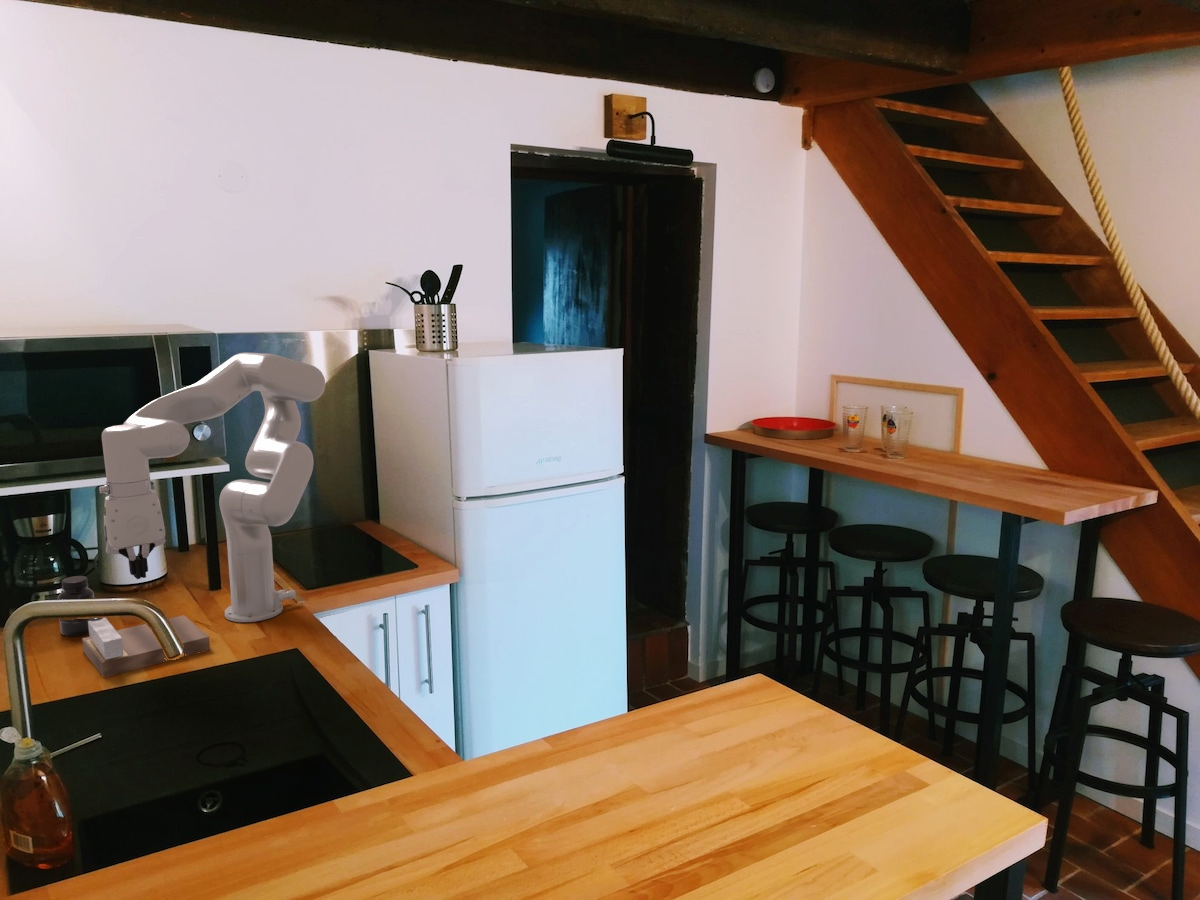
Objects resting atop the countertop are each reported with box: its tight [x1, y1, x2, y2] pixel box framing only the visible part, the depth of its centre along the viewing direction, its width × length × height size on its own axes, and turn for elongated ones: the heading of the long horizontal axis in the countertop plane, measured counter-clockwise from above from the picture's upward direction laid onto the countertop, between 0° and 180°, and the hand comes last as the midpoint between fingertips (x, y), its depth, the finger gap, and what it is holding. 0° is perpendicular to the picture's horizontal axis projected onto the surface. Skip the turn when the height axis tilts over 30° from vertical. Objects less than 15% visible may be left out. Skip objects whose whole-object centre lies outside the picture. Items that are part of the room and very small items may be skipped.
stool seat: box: [81, 614, 211, 678], centre depth 183 cm, size 20×16×3 cm
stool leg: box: [88, 617, 124, 660], centre depth 177 cm, size 16×3×4 cm, turn 41°
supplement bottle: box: [57, 575, 95, 637], centre depth 193 cm, size 7×7×12 cm
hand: (139, 576), depth 177 cm, fingers closed
